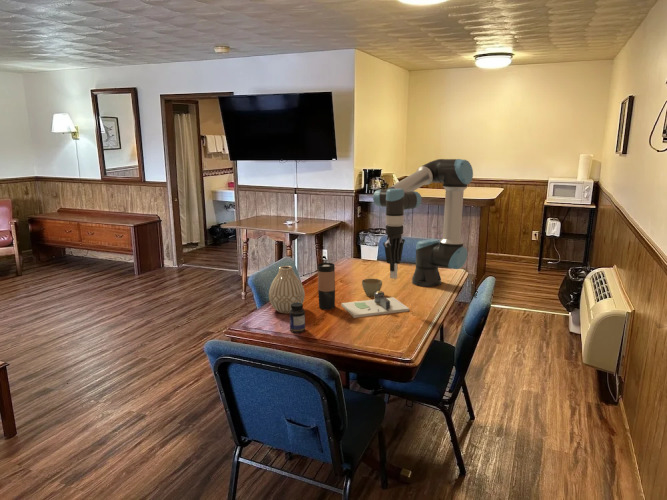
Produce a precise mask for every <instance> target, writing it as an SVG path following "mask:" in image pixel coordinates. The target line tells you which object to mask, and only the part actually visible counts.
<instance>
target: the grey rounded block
mask: <svg viewBox="0 0 667 500" xmlns="http://www.w3.org/2000/svg"><path fill="white" fill-rule="evenodd" d="M373 298H374V302H375V303H378V304H380V305H382V306H383V307H384V308H385V309H390V301H389V300H388V299H386V298H387V297H385V292H384V291H382V290H380V291H377V292H375V293H374V297H373Z"/></svg>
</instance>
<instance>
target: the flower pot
mask: <svg viewBox="0 0 667 500" xmlns="http://www.w3.org/2000/svg"><path fill="white" fill-rule="evenodd" d="M361 285H362V288H363V290H364V291H363V292H364V293H365V295H366V296H367V297H371V298H374V293H375V292H377V291H381V288H382V285H383V280H382V279H378V278H364V279H362V280H361Z"/></svg>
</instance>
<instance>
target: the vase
mask: <svg viewBox="0 0 667 500" xmlns="http://www.w3.org/2000/svg"><path fill="white" fill-rule="evenodd" d="M304 288H305V287H304V286H303V283H302V281H301V280H300V279H299V277H298V276H297V275H296V273H295V272H294V269H293V267H292V266H291V265H282V266H280V267H279V269H278V273H277V274H276V276H275V277H274V279H273V280H272V282H271V284H270V287H269V291H268V300H269V302H270V305H271V307H272V308H273V309H274V310H275V311H277V312H278V313H281V314H290V310H291V309H292V308H291V304H292V303H296V302H298V303H302V304H303V305H304V301H305V296H306V295H305V289H304Z"/></svg>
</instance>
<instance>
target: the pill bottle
mask: <svg viewBox="0 0 667 500" xmlns="http://www.w3.org/2000/svg"><path fill="white" fill-rule="evenodd" d="M303 307H304V303H303V304H302V303H298V302H296V303H292V304H291V308H292V309H291V310H290V313H289V331H290V332H291V333H294V334H301V333H303V332H305V330H306V311H305V310H304V308H303Z"/></svg>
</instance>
